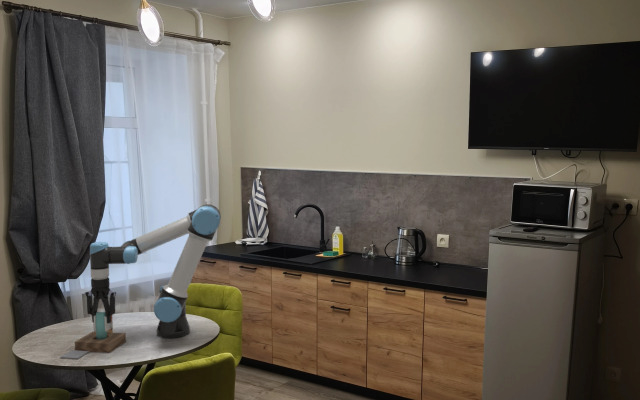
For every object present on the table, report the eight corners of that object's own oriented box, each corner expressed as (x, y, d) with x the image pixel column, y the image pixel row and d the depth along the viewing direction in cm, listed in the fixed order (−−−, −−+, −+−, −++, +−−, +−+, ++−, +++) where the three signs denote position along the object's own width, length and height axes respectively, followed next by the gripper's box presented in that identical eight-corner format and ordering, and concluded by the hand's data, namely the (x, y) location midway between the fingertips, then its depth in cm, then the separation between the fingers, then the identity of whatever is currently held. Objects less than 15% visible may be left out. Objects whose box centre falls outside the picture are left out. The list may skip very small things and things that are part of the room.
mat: (88, 352, 238) (88, 351, 238) (78, 359, 230) (77, 358, 230) (71, 351, 239) (71, 350, 239) (60, 358, 231) (60, 356, 231)
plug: (109, 340, 248) (108, 311, 247) (103, 343, 243) (103, 314, 243) (99, 340, 248) (99, 311, 248) (94, 343, 244) (94, 313, 244)
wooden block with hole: (126, 341, 251) (125, 333, 251) (109, 352, 238) (109, 343, 237) (93, 340, 254) (92, 331, 253) (75, 350, 240) (74, 341, 240)
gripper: (123, 276, 246) (124, 328, 248) (86, 275, 249) (88, 326, 251) (114, 280, 239) (116, 333, 241) (76, 279, 242) (78, 331, 243)
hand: (102, 329), depth 246 cm, fingers closed on plug, 4 cm apart
